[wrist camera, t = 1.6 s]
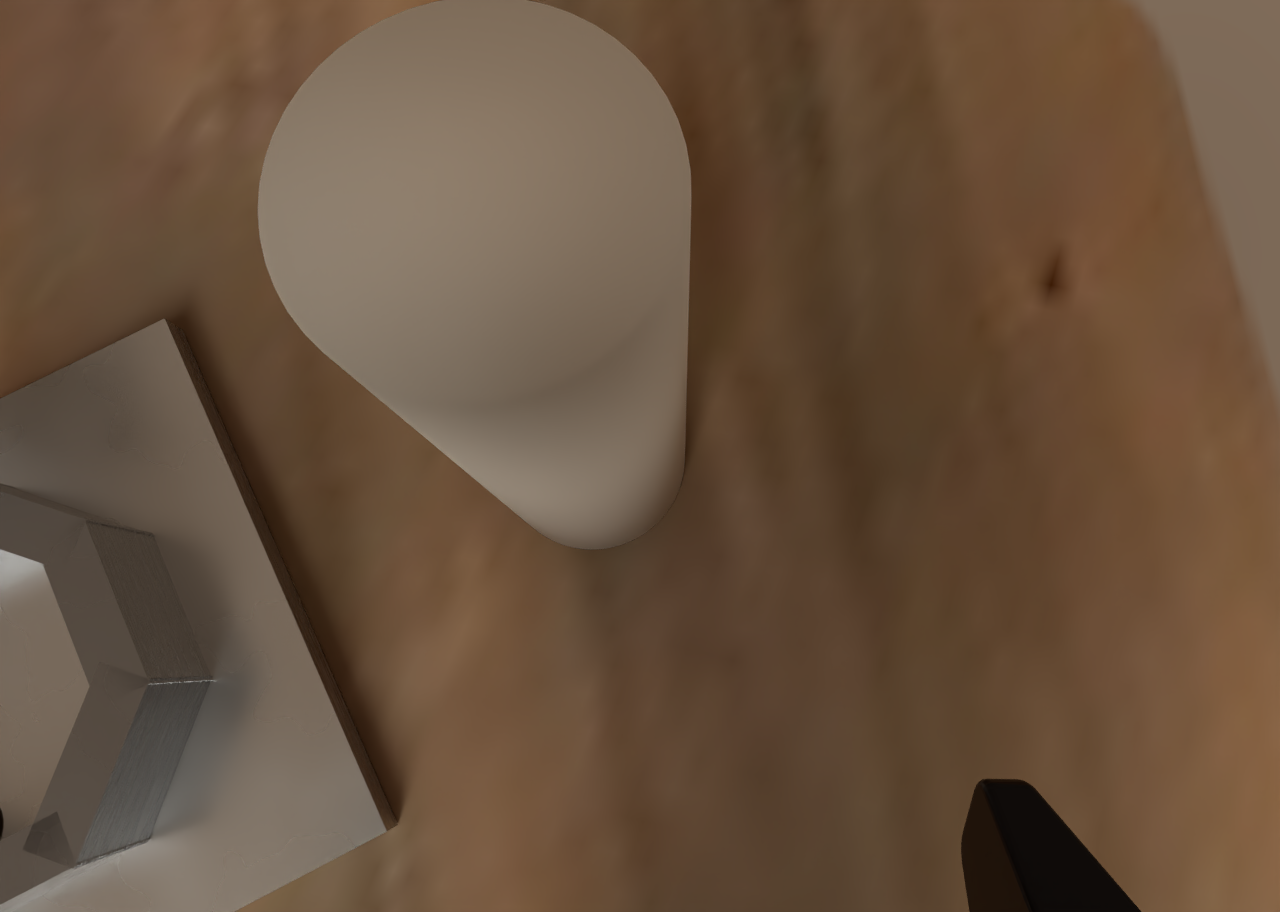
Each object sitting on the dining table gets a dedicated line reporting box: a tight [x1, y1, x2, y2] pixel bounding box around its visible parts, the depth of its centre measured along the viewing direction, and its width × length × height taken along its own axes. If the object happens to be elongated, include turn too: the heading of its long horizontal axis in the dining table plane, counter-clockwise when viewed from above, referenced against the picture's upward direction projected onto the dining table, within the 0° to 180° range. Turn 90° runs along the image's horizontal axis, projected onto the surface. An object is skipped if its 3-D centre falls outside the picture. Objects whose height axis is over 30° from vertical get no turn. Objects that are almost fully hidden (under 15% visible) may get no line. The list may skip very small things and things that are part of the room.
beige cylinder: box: [258, 0, 691, 550], centre depth 16 cm, size 4×4×13 cm
